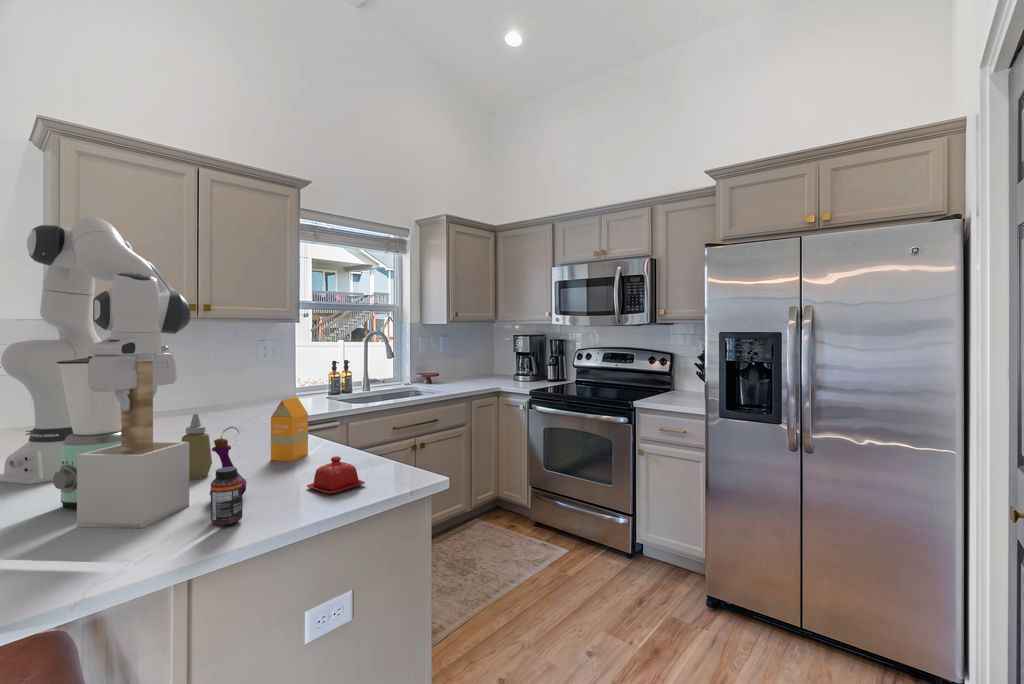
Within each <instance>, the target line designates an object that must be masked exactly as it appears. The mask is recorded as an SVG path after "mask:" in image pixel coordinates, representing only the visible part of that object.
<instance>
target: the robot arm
mask: <svg viewBox="0 0 1024 684" xmlns="http://www.w3.org/2000/svg"><path fill="white" fill-rule="evenodd" d="M26 248H27V251H28V253H29V254H28V255H29V256H30V258H31V259H32V260H33V261H34V262H36V263H39V264H42V265H45V266H47V268H46V270H45V271H46V272H45V276H44V280H43V285H42V286H43V287H42V292H41V293H42V294H41V301H40V310H39V311H40V312H39V314H40V317H41V318H42V320H43V321H44V322H45V323H47V324H48V325H51V326H53V327H55V328H56V330H57V331H58V339H29V340H23V341H17V342H12V343H10V344H9V345H8V346H7V347H6V348H5V350H3V352H2V355H1V366H2V368H3V370H4V372H5V373H6V374H8V376H10V377H12V378H14V379H16V380H17V381H19V382H20V384H22V385H23V386H24V387H25V388H26V390H27V391H28V393H29V394H30V396H31V399H32V402H33V411H34V427H33V429H31V430H25V433H26V434H25V436H29V438H28V440H27V441H28V442H26V443H25V444H24V445H21V447H20V448H18V449H17V450H15V451H13V453H10V455H8V456H7V458H6V459H5V461H4V469H3V472H2V473H0V483H1V482H4V483H11V484H13V483H14V484H21V485H33V484H40V483H45V482H53V476H54V474H55V473H56V472H58V471H60V468H61V449H62V444H63V442H64V441H65V439H66V437H68V436H69V435H70V434H73V430H72V426H71V421H70V416H69V412H68V407H67V402H66V397H65V392H64V387H63V382H62V376H61V370H60V368H59V365H58V364H57V362H58V361H66V360H75V359H81V358H88V356H93V357H92V358H91V359H90V361H89V365H88V386H89V388H90V389H91V390H92V391H93V392H108V391H115V396H116V398H117V399H118V401H119V402H120V410H121V411H127V410H132V409H133V402H130V400H129V398H128V396H127V394H129V389H134V388H137V370H136V363H137V362H140V361H153V399H154V397H155V395H156V394H157V391H158V386H166V385H167V386H169V385H174V384H175V382H176V381H177V379H178V378H177V366H176V360H175V357H174V355H173V350H172V349H171V348H170V347H168V346H167V345H162V341H161V340H162V334H171V335H174V334H177V333H179V332H180V331H182V330H183V329H184V328H185V327H186V326H188V325H189V324H190V320H191V308H190V304H189V303H188V301H187V300H186V298H184V296H182V295H181V294H180V293H179V292H177V291H176V290H175V289H174V288H173V287H172V286H171V284H170V283H169V282H168V281H167V279H165V277H164V276H163V275H162V274H161V273H160V272H159V270H158V269H157V268H156V267H155V266H154V265H153V263H152V262H150V261H148V260H146V259H145V258H143V257H142V256H140V255H138V254H137V253H136V252H134V251H133V248H132V245H131V244H130V242H129V241H128V240H126V239H124V238H123V237H122V235H121V234H120V233H119V231H118V230H117V229H116V228H115V227H114V226H113V225H112V224H111V223H110V222H108V221H107V220H105V219H102V218H100V217H94V216H91V217H90V216H89V217H83V218H80V219H78V220H77V221H76V222H74V223H73V225H72V226H71V228H69V227H65V226H64V227H63V226H59V225H55V224H54V225H53V224H52V225H51V224H45V225H43V224H42V225H40V224H39V225H37V226H35V227H33V228H32V229H31V232H30V233H29V234H28V236H27V239H26ZM96 280H100V281H105V282H109V283H112V286H111V288H109V290H104V291H102V292H100V293H99V294H97V295H96V296H95V292H96ZM94 323H95V324H96V325H97V326H99V328H101V329H103V330H104V331H109V332H110V337H107V338H106V339H103V340H102V339H101V338H100V337H99V335H98V333H97V331H96V329H95V326H94Z"/></svg>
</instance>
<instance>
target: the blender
mask: <svg viewBox="0 0 1024 684" xmlns="http://www.w3.org/2000/svg"><path fill="white" fill-rule="evenodd" d="M92 357H93V356H88V358H81V359H75V360H66V361H58V362H57V364H58V365H59V368H60V370H61V376H62V382H63V387H64V392H65V397H66V402H67V407H68V412H69V416H70V421H71V426H72V430H73V434H70V435H69V436H68V437H66V439H65V441H64V442H63V444H62V449H61V468H60V471H58V472H56V473H55V474H54V476H53V481H52V483H53V485H54V488H56V489H57V490H60V502H61V504H62V508H77V455H79V454H83V453H87V452H91V451H95V450H99V449H103V448H107V447H111V446H115V445H119V444H121V410H120V402H119V401H118V399H117V398H116V396H115V391H108V392H93V391H92V390H91V389H90V388H89V386H88V365H89V361H90V359H91V358H92Z"/></svg>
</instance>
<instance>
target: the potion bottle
mask: <svg viewBox="0 0 1024 684" xmlns="http://www.w3.org/2000/svg"><path fill="white" fill-rule="evenodd" d="M230 429H235V430H236V432H237V434H238V435H240V431H239V429H238V428H237V427H236V426H233V425H232V426H228V427H227V428H225V429H224V430H223V432H222V433H221V436H220V438H216V439H215V440H213V443H214V447H212V448H211V452H215V454H216V455H217V456H218V457H219V459H220V463H221V468H223V467H235V466H234V464H233V462H232V460H231V458H230V456H229V451H230V450H231V449H232V446H231V445H228V444H229V441H228V439H227V438H223V435H224V433H225V432H226V431H228V430H230ZM237 475H238V477H240V478H241V479H242V496H244V494H245V493H246V491H247V480H246V479H245V478H243V476H242V475H241V474H240V473H239V472H238V471H237ZM209 495H210V496H211V490H210V491H209Z"/></svg>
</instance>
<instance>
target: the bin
mask: <svg viewBox="0 0 1024 684" xmlns="http://www.w3.org/2000/svg"><path fill="white" fill-rule="evenodd" d="M189 506H190V480H189V442H181V441H154V440H153V451H152V452H148V453H145V454H141V455H128V454H121V444H119V445H115V446H111V447H107V448H103V449H99V450H95V451H91V452H87V453H83V454H79V455H77V507H76V527H78V528H103V529H104V528H105V529H106V528H109V529H110V528H111V529H113V528H114V529H143V528H145V527H147V526H149V525H152V524H153V523H156V522H158V521H160V520H162V519H164V518H166V517H168V516H171V515H172V514H173V515H174V513H177V512H179V511H181V510H183V509H186V508H188V507H189Z"/></svg>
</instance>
